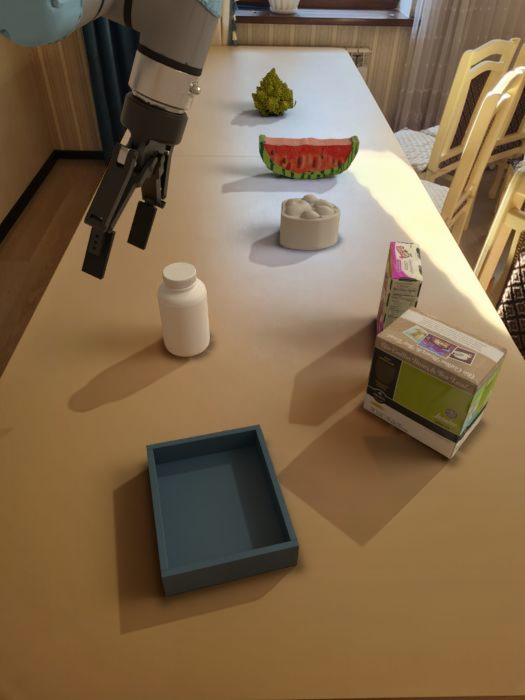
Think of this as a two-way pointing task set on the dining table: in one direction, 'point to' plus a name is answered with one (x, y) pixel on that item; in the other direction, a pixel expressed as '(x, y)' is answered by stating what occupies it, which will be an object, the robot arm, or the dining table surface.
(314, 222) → the lumpy-topped squat cylinder
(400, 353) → the tea box
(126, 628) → the dining table surface
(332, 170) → the fruit slice
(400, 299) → the candy bar box
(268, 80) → the vegetable
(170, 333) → the pill bottle
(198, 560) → the tray
